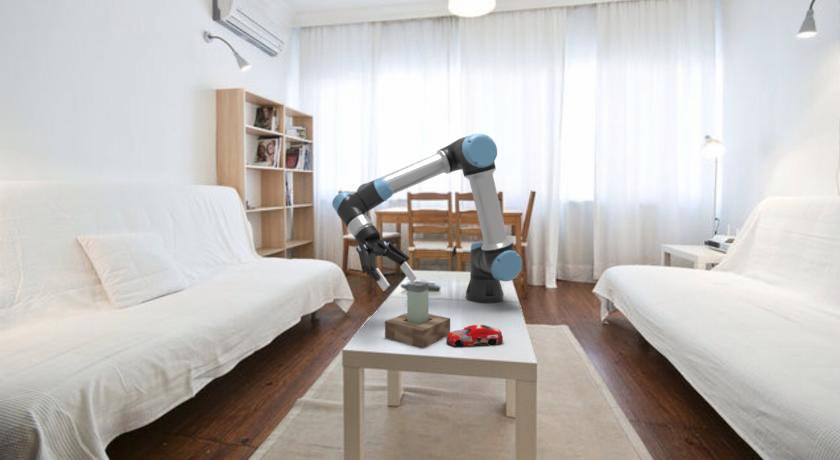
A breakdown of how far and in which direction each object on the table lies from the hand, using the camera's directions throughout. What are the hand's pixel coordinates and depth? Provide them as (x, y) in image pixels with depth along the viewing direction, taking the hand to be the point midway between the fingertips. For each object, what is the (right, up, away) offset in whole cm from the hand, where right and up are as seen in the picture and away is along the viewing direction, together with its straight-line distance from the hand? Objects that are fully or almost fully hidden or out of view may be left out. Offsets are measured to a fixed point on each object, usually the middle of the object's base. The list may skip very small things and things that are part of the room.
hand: (401, 284), depth 129 cm
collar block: (+5, -15, -2) cm, 16 cm away
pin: (+5, -15, -2) cm, 16 cm away
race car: (+21, -16, -7) cm, 28 cm away
